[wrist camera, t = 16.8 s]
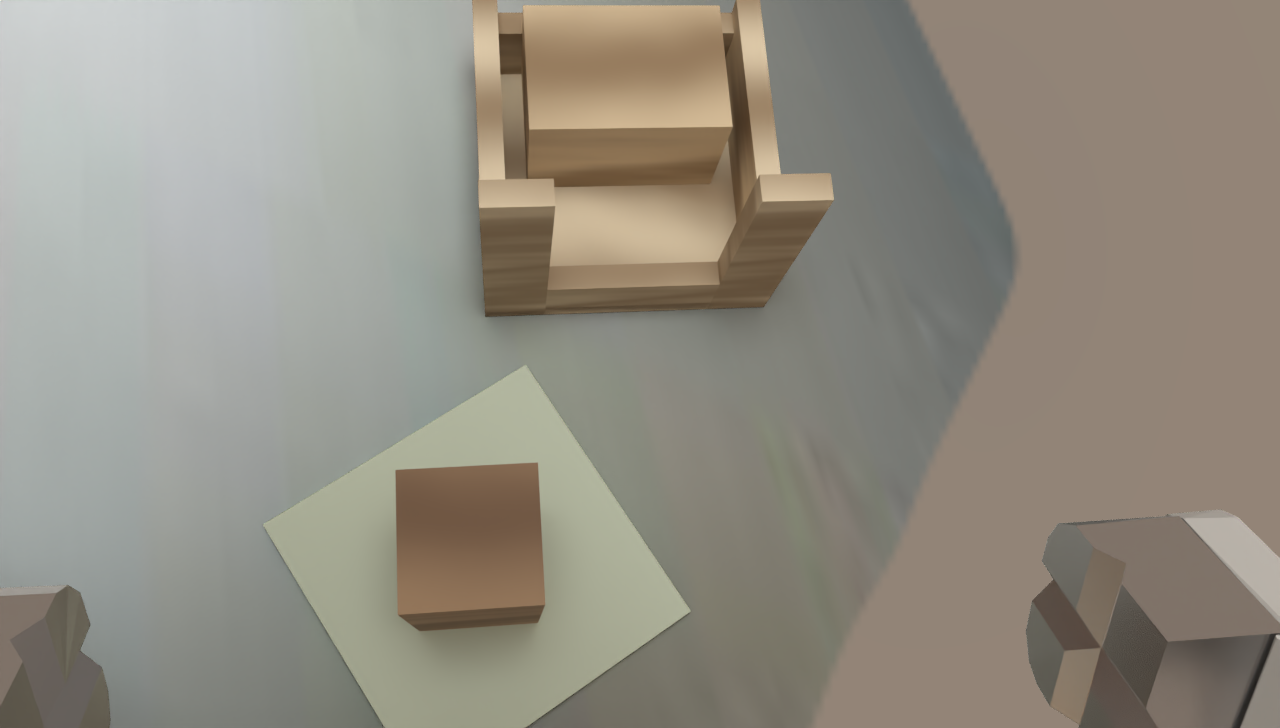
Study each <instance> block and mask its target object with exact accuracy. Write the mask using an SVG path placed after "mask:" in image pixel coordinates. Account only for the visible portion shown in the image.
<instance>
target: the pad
mask: <svg viewBox="0 0 1280 728" xmlns="http://www.w3.org/2000/svg"><path fill="white" fill-rule="evenodd" d="M537 462H538V472H539V492H540V511H541V531H542V550H543V570H544V589H545V607H544V609H543V612H542V614H541V617H540V619H539V621H538V623H530V624H516V625H502V626H488V627H474V628H460V629H446V630H431V631H419V630H417V629H416V628H415V627H413V626H412V625H411V624H409V623H408V622H406V621H405V620H404V619H402V618H401V617H400V616H398V604H397V540H396V476H395V470H402V469H422V468H441V467H460V466H479V465H498V464H517V463H537ZM263 526H264V528H265V529H266V531H267V533H268V534H269V536H270V538H271V539H272V541H273V543H274V544H275V546H276V548H277V549H278V551H279V553H280V554H281V556H282V558H283V559H284V561H285V563H286V564H287V566H288V568H289V569H290V571H291V573H292V574H293V576H294V578H295V579H296V581H297V583H298V584H299V586H300V588H301V589H302V591H303V593H304V594H305V596H306V598H307V599H308V601H309V603H310V604H311V606H312V608H313V609H314V611H315V613H316V614H317V616H318V617H319V619H320V621H321V622H322V624H323V626H324V627H325V629H326V631H327V632H328V634H329V636H330V637H331V639H332V641H333V642H334V644H335V646H336V647H337V649H338V651H339V652H340V654H341V656H342V657H343V659H344V661H345V662H346V664H347V666H348V667H349V669H350V671H351V672H352V674H353V676H354V677H355V679H356V681H357V682H358V684H359V686H360V687H361V689H362V691H363V692H364V694H365V696H366V697H367V699H368V701H369V702H370V704H371V706H372V707H373V709H374V711H375V712H376V714H377V716H378V717H379V719H380V721H381V722H382V724H383V726H384V727H385V728H526V727H527V726H529V725H530V724H531V723H533V722H534V721H536V720H537V719H538V718H540V717H541V716H543V715H544V714H546V713H547V712H548V711H550V710H551V709H553V708H554V707H556V706H557V705H558V704H560V703H561V702H563V701H564V700H565V699H567V698H568V697H570V696H571V695H573V694H574V693H575V692H577V691H578V690H580V689H581V688H583V687H584V686H585V685H587V684H588V683H590V682H591V681H592V680H594V679H595V678H597V677H598V676H600V675H601V674H602V673H604V672H605V671H607V670H608V669H610V668H611V667H612V666H614V665H615V664H617V663H618V662H619V661H621V660H622V659H624V658H625V657H627V656H628V655H629V654H631V653H632V652H634V651H635V650H637V649H638V648H639V647H641V646H642V645H644V644H645V643H647V642H648V641H649V640H651V639H652V638H654V637H655V636H656V635H658V634H659V633H661V632H662V631H664V630H665V629H666V628H668V627H669V626H671V625H672V624H674V623H675V622H676V621H678V620H679V619H681V618H682V617H683V616H685V615H686V614H688V613H689V612H691V611H690V609H689V608H688V606H687V605H686V603H685V602H684V600H683V599H682V597H681V596H680V594H679V593H678V591H677V590H676V588H675V587H674V585H673V584H672V582H671V581H670V579H669V578H668V576H667V575H666V573H665V572H664V570H663V569H662V567H661V566H660V564H659V563H658V561H657V560H656V558H655V557H654V556H653V554H652V553H651V551H650V550H649V548H648V547H647V545H646V544H645V542H644V541H643V539H642V538H641V536H640V535H639V533H638V532H637V530H636V529H635V527H634V526H633V524H632V523H631V521H630V520H629V518H628V517H627V515H626V514H625V512H624V511H623V509H622V508H621V506H620V505H619V503H618V502H617V500H616V499H615V497H614V496H613V494H612V493H611V491H610V490H609V488H608V487H607V485H606V484H605V482H604V481H603V479H602V478H601V476H600V475H599V473H598V472H597V470H596V469H595V467H594V466H593V464H592V463H591V461H590V460H589V458H588V457H587V455H586V454H585V453H584V451H583V450H582V448H581V447H580V445H579V444H578V442H577V441H576V439H575V438H574V436H573V435H572V433H571V432H570V430H569V429H568V427H567V426H566V424H565V423H564V421H563V420H562V418H561V417H560V415H559V414H558V412H557V411H556V409H555V408H554V406H553V405H552V403H551V402H550V400H549V399H548V397H547V396H546V394H545V393H544V391H543V390H542V388H541V387H540V385H539V384H538V382H537V381H536V379H535V378H534V376H533V375H532V373H531V372H530V370H529V369H528V367H527V366H526V365H524V366H523V367H521V368H519V369H518V370H516V371H514V372H513V373H511V374H510V375H508V376H506V377H505V378H503V379H501V380H500V381H498V382H496V383H495V384H493V385H491V386H490V387H488V388H487V389H485V390H483V391H482V392H480V393H478V394H477V395H475V396H473V397H472V398H470V399H468V400H467V401H465V402H463V403H462V404H460V405H459V406H457V407H455V408H454V409H452V410H450V411H449V412H447V413H445V414H444V415H442V416H440V417H439V418H437V419H436V420H434V421H432V422H431V423H429V424H427V425H426V426H424V427H422V428H421V429H419V430H417V431H416V432H414V433H412V434H411V435H409V436H408V437H406V438H404V439H403V440H401V441H399V442H398V443H396V444H394V445H393V446H391V447H389V448H388V449H386V450H385V451H383V452H381V453H380V454H378V455H376V456H375V457H373V458H371V459H370V460H368V461H366V462H365V463H363V464H361V465H360V466H358V467H357V468H355V469H353V470H352V471H350V472H348V473H347V474H345V475H343V476H342V477H340V478H338V479H337V480H335V481H334V482H332V483H330V484H329V485H327V486H325V487H324V488H322V489H320V490H319V491H317V492H315V493H314V494H312V495H310V496H309V497H307V498H306V499H304V500H302V501H301V502H299V503H297V504H296V505H294V506H292V507H291V508H289V509H287V510H286V511H284V512H283V513H281V514H279V515H278V516H276V517H274V518H273V519H271V520H269V521H268V522H266V523H264V524H263Z"/></svg>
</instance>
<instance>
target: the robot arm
mask: <svg viewBox="0 0 1280 728" xmlns="http://www.w3.org/2000/svg"><path fill="white" fill-rule="evenodd" d="M1042 562H1043V563H1044V565H1045V567H1046V568H1047V570H1048V571H1049V573H1050V575H1051V576H1052V578H1053V580H1052V581H1051V583H1049V584H1048V586H1047V587H1045V588H1044V589H1043V590H1042V591H1041V592H1040V593H1039V594H1038V595H1037V596H1036V597H1035V598H1034V599H1033V601H1032V605H1031V609H1030V614H1029V619H1028V624H1027V629H1026V635H1027V644H1028V655H1029V662H1030V665H1031V668H1032V671H1033V674H1034V677H1035V680H1036V682H1037V685H1038V687H1039V688H1040V690H1041V692H1042V693H1043V695H1044V697H1045V699H1046V700H1047V702H1048V703H1049V705H1050V707H1052V708H1053V709H1055V710H1057V711H1058V712H1060V713H1061V714H1063V715H1064V716H1066V717H1068V718H1069V719H1071V720H1072V721H1074V722H1076V723H1077V724H1079V727H1078V728H1280V558H1279V557H1278V556H1277V555H1276V554H1275V553H1274V552H1273V551H1272V550H1271V549H1270V548H1269V547H1267V545H1266V544H1265V543H1264V542H1263V541H1262V540H1261V539H1260V538H1259V537H1257V536H1256V535H1255V534H1254V533H1253V532H1252V531H1251V530H1250V529H1249V528H1248V527H1247V526H1246V525H1245V524H1244V523H1243V522H1242V521H1241V520H1240V519H1239V518H1238V517H1236V516H1234V515H1232V514H1230V513H1227V512H1225V511H1223V510H1210V511H1199V512H1188V513H1177V514H1167V515H1166V516H1164V517H1146V518H1134V519H1133V518H1132V519H1118V520H1103V521H1088V522H1073V523H1059V524H1058V525H1057V526H1056V528H1055V529H1054V530H1053V532H1052V533H1051V535H1050V536H1049V537H1048V540H1047V544H1046V548H1045V551H1044V555H1043V559H1042ZM89 627H90V622H89V619H88V616H87V613H86V610H85V606H84V603H83V600H82V597H81V594H80V592H78V591H77V590H75V589H74V588H72V587H70V586H69V585H57V586H34V587H10V588H0V728H109V727H110V709H109V696H108V689H107V685H106V681H105V677H104V673H103V669H102V667H100V666H99V665H98V664H96V663H95V662H94V661H93V660H91V659H90V658H89V657H87V656H86V655H85V654H83V653H82V652H81V651H80V648H81V646H82V644H83V641H84V639H85V637H86V634H87V632H88V629H89Z"/></svg>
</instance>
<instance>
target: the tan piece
mask: <svg viewBox="0 0 1280 728" xmlns="http://www.w3.org/2000/svg"><path fill="white" fill-rule="evenodd" d="M472 5H473V31H474V57H475V82H476V108H477V134H478V160H479V180H478V193H479V215H480V232H481V249H482V267H483V284H484V301H485V317H486V316H515V315H544V314H573V313H602V312H631V311H659V310H688V309H717V308H746V307H764V306H765V304H766V303H767V301H768V300H769V298H770V297H771V295H772V294H773V292H774V291H775V289H776V288H777V286H778V284H779V283H780V281H781V280H782V278H783V277H784V275H785V274H786V272H787V271H788V269H789V268H790V266H791V265H792V263H793V262H794V260H795V259H796V257H797V256H798V254H799V253H800V251H801V250H802V248H803V246H804V245H805V243H806V242H807V240H808V239H809V237H810V236H811V234H812V233H813V231H814V230H815V228H816V227H817V225H818V224H819V222H820V221H821V219H822V218H823V216H824V215H825V213H826V211H827V210H828V208H829V207H830V205H831V204H832V202H833V201H834V196H833V189H832V181H831V174H830V173H820V174H781V173H780V164H779V156H778V148H777V139H776V131H775V123H774V114H773V106H772V98H771V90H770V81H769V73H768V65H767V56H766V48H765V40H764V31H763V23H762V15H761V6H760V0H736V2H735V5H734V8H733V11H732V13H720V6H585V5H523V13H498V11H497V0H472Z"/></svg>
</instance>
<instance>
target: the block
mask: <svg viewBox="0 0 1280 728" xmlns="http://www.w3.org/2000/svg"><path fill="white" fill-rule="evenodd" d="M395 476H396V540H397V604H398V616H400V617H401V618H402V619H404V620H405V621H406V622H408V623H409V624H411V625H412V626H413V627H415V628H416V629H417V630H419V631H431V630H446V629H460V628H474V627H488V626H502V625H516V624H530V623H538V621H539V619H540V617H541V614H542V612H543V609H544V607H545V589H544V570H543V550H542V531H541V511H540V492H539V472H538V462H537V463H517V464H498V465H479V466H460V467H441V468H422V469H402V470H395Z"/></svg>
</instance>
